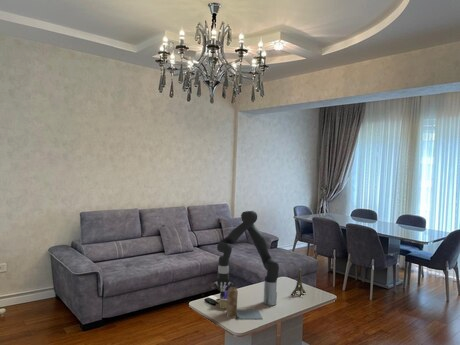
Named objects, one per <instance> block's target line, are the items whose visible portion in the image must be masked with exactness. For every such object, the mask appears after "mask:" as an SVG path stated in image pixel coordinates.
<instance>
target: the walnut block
mask: <svg viewBox="0 0 460 345" xmlns="http://www.w3.org/2000/svg"><path fill="white" fill-rule="evenodd" d="M237 288H238V287H236V286H231V287H230V288H229V289H228V292H227V308H226V316H227V318H237V316H236V315H237V310H238V296H239V295H238V289H237Z"/></svg>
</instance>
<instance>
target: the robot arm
mask: <svg viewBox="0 0 460 345" xmlns="http://www.w3.org/2000/svg"><path fill="white" fill-rule="evenodd" d="M240 219H241V222H242V223H240V224H239V225H237V226H236V227H235V228H234V229H232V230H231V231H230V233H229V234H228V235H227V236H226V237H225V238H223V239H222V240H220V241H219V242H218V244H217V246H216V250H217V251H218V252H220V253H222V254H223V255H219V257H218V268H217V280H216V281H215V282H213V285H214V287H215V288H216V289H217V291H220V293H219V296H220V295H221V297H224V296H225V291H227V290H228V289H229V288H230V287H232V282H230V280H229V277H230V276H229V275H230V266H229V265H230V257H231V254H232V250H233V249H232V248H233V247H232V245H235V243H237V241H238V240H239V239H240V238H241V236H242V235H243V234H244V233H245V232H246V231H247V232H248V233H249V236H250V238H251V240H252V243H253V245H254V248H255V249H256V250H257V252H258V254H259V256H260V259H261V262H262V264H263V267H264V269H265V270H266V271H267V272H266V275H265V276H264V283H263V284H264V285H263V286H264V288H263V301H262V302H263V304H264V305H266V306H276V305H277V297H278V291H277V284H278V283H277V281H278V279H279V270H280V269H279V268H280V267H279V263H278V262H277V261H276V260H274V259H273V258H272V256H271V254H270V253H269V246H268V242H267V240H266V238H265V236H264V234H263V233H262V232H261V231H260V230H259V229H258V228H257V227H256V226H255V223H256V221H257V220H258V213H257V212H256V211H254V210H245V211H243V212H242V213H241V215H240ZM225 286H227V287H226V288H225Z"/></svg>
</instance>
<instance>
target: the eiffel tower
mask: <svg viewBox="0 0 460 345" xmlns="http://www.w3.org/2000/svg"><path fill="white" fill-rule="evenodd" d="M302 271H303V269H302V268H299V269H298V276H297V280H296V285H295V287H294V289H293V290H292V293H291V294H295V293H296V291H298V292H299V296H300V295H303V296H304V294H303V293H307V292H306V291H305V289H304V287H303V281H302Z"/></svg>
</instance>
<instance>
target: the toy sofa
mask: <svg viewBox="0 0 460 345" xmlns="http://www.w3.org/2000/svg"><path fill="white" fill-rule="evenodd" d="M227 286H228V285H226V286H225V288H226V287H227ZM227 292H228V290H227V291H225V296H224V297H221V295H220V294H219V309H220V308H221V309H227Z"/></svg>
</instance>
